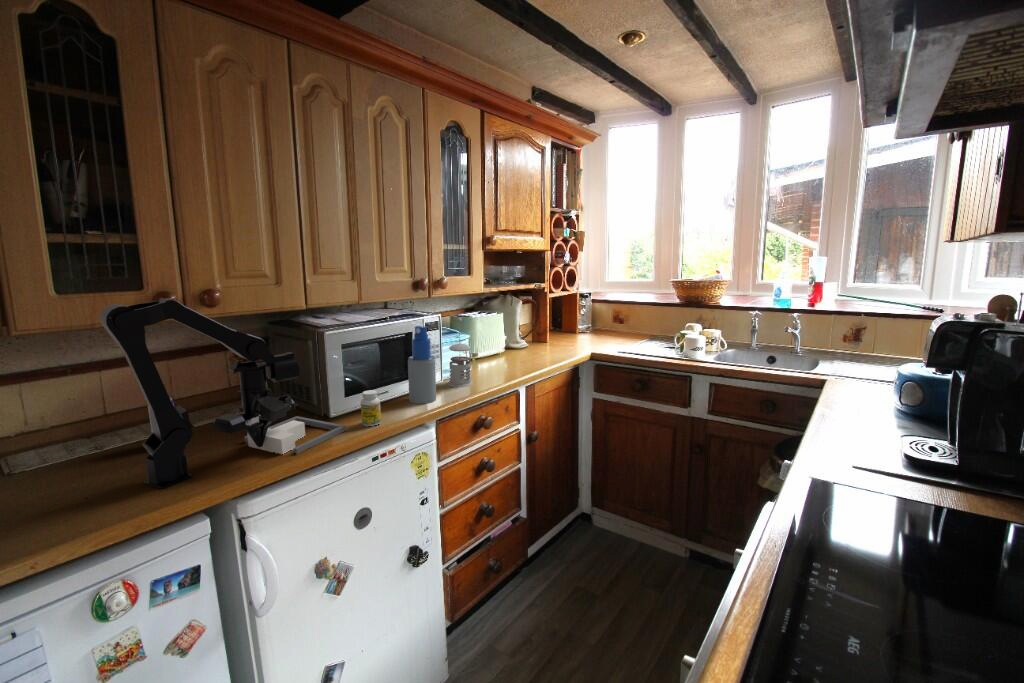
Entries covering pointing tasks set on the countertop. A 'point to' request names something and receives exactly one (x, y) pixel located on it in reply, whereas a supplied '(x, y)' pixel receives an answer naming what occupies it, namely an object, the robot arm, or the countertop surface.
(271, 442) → the t block
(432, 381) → the spray bottle
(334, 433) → the grey rectangular rod frame
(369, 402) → the supplement bottle
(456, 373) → the french press
